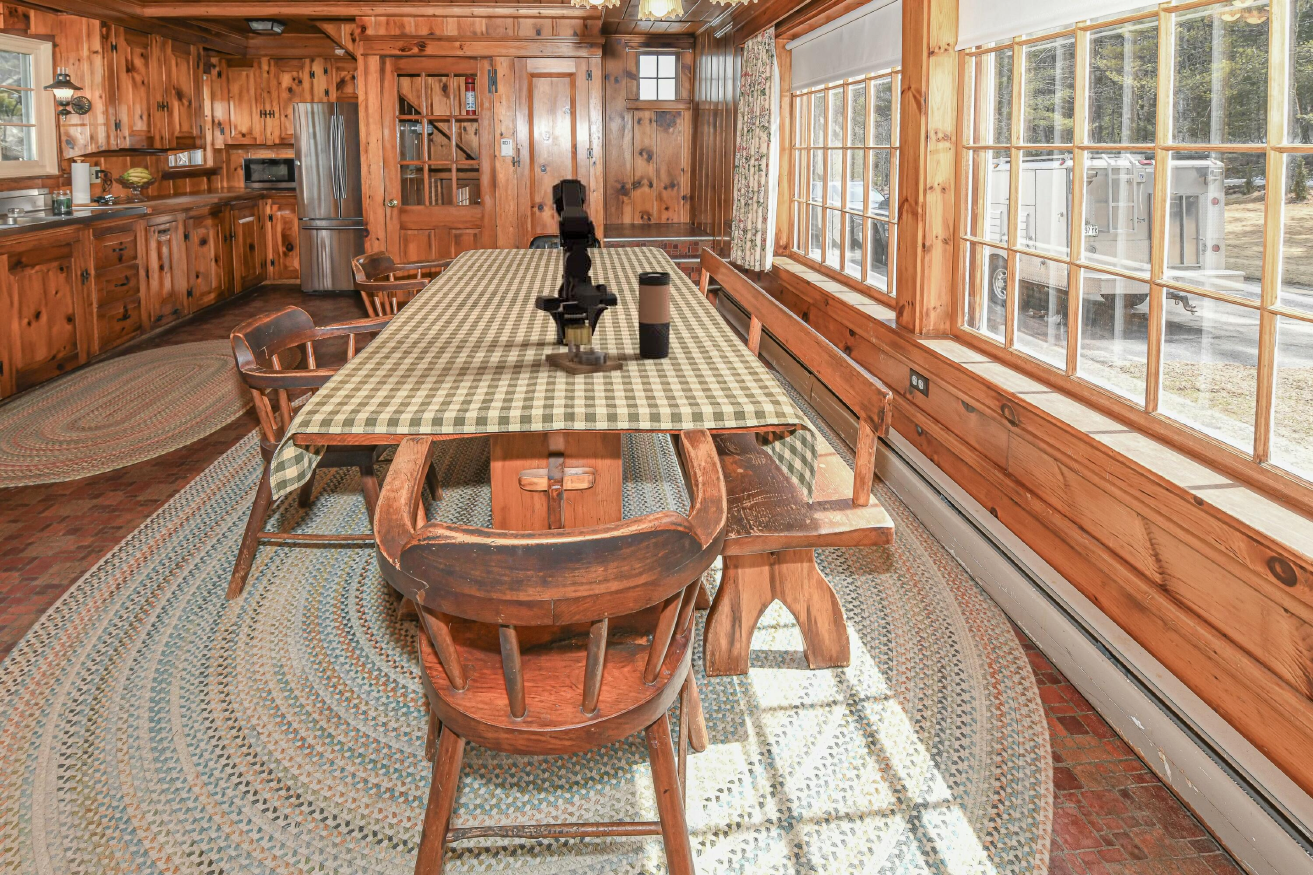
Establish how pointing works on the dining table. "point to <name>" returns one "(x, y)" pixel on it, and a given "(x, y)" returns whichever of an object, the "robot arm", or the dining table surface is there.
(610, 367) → the gear board
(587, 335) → the brass gear
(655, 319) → the travel mug
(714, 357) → the dining table surface
